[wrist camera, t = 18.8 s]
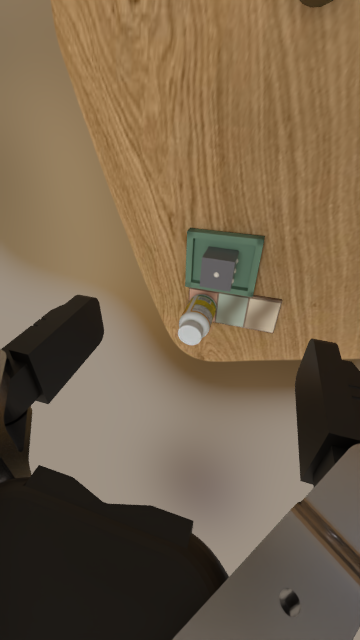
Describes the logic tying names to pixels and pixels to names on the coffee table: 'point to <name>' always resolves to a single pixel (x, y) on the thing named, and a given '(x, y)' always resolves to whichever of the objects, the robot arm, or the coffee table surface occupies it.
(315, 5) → the olive game pawn
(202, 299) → the supplement bottle
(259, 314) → the track
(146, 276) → the coffee table surface
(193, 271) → the tray
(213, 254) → the die
